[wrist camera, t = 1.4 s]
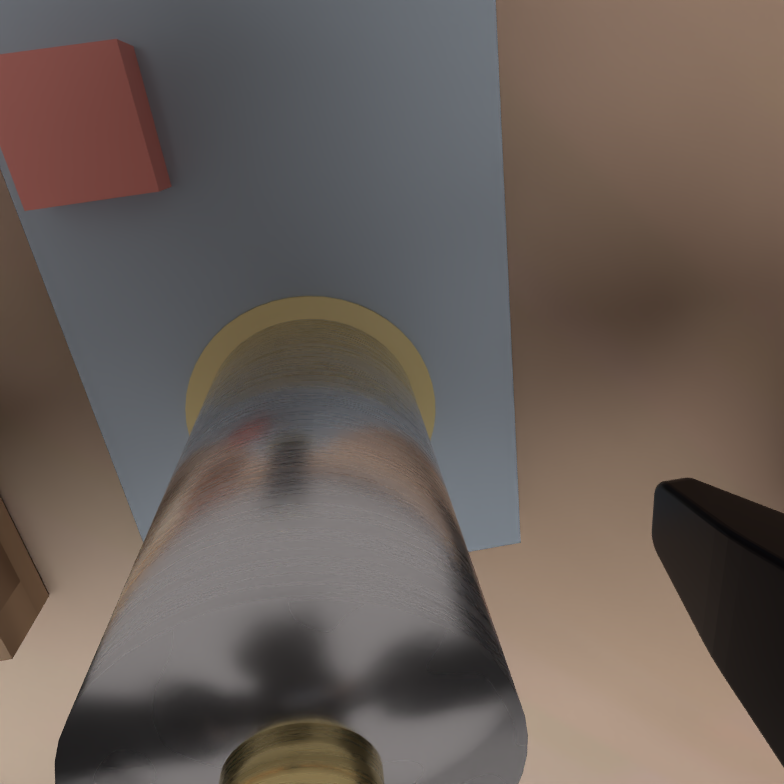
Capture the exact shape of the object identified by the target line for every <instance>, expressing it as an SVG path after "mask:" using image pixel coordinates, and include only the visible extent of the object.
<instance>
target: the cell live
mask: <svg viewBox="0 0 784 784" xmlns="http://www.w3.org/2000/svg"><path fill="white" fill-rule="evenodd" d="M527 742H528V734H527V727H526V720H525V715H524V712H523V709H522V706H521V703H520V700H519V698H518V695H517V692H516V689H515V686H514V683H513V680H512V677H511V674H510V671H509V668H508V666H507V663H506V660H505V657H504V654H503V651H502V648H501V645H500V642H499V639H498V636H497V634H496V631H495V628H494V625H493V622H492V619H491V616H490V613H489V610H488V607H487V605H486V602H485V599H484V596H483V593H482V590H481V587H480V584H479V581H478V578H477V575H476V573H475V570H474V567H473V564H472V561H471V558H470V555H469V552H468V549H467V546H466V543H465V541H464V538H463V535H462V532H461V529H460V526H459V523H458V520H457V517H456V514H455V512H454V509H453V506H452V503H451V500H450V497H449V494H448V491H447V488H446V485H445V482H444V480H443V477H442V474H441V471H440V468H439V465H438V462H437V459H436V456H435V453H434V450H433V448H432V445H431V442H430V439H429V436H428V433H427V430H426V427H425V424H424V421H423V419H422V416H421V413H420V410H419V407H418V404H417V401H416V398H415V395H414V392H413V389H412V387H411V384H410V381H409V378H408V376H407V374H406V372H405V371H404V369H403V367H402V365H401V364H400V363H399V361H398V360H397V358H396V357H395V356H394V355H393V354H392V353H391V352H390V351H389V350H388V349H387V347H385V346H384V345H383V344H382V343H380V342H379V341H378V340H377V339H375V338H374V337H372V336H370V335H369V334H367V333H365V332H364V331H362V330H359V329H357V328H355V327H352V326H350V325H347V324H343V323H340V322H336V321H330V320H324V319H301V320H292V321H287V322H283V323H279V324H276V325H273V326H270V327H267V328H265V329H263V330H261V331H259V332H257V333H255V334H253V335H252V336H250V337H249V338H247V339H246V340H245V341H243V342H242V343H241V344H239V345H238V346H237V347H236V348H235V349H234V350H233V351H232V352H231V353H230V354H229V356H228V357H227V358H226V359H225V360H224V362H223V363H222V365H221V366H220V368H219V370H218V371H217V373H216V375H215V378H214V380H213V382H212V385H211V387H210V389H209V392H208V394H207V396H206V398H205V401H204V403H203V405H202V408H201V410H200V412H199V415H198V417H197V419H196V422H195V424H194V426H193V429H192V431H191V433H190V436H189V438H188V440H187V443H186V445H185V447H184V450H183V452H182V454H181V456H180V459H179V461H178V463H177V466H176V468H175V470H174V473H173V475H172V477H171V480H170V482H169V484H168V487H167V489H166V491H165V494H164V496H163V498H162V501H161V503H160V505H159V508H158V510H157V512H156V514H155V517H154V519H153V521H152V524H151V526H150V528H149V531H148V533H147V535H146V538H145V540H144V542H143V545H142V547H141V549H140V552H139V554H138V556H137V559H136V561H135V563H134V566H133V568H132V570H131V572H130V575H129V577H128V579H127V582H126V584H125V586H124V589H123V591H122V593H121V596H120V598H119V600H118V603H117V605H116V607H115V610H114V612H113V614H112V617H111V619H110V621H109V624H108V626H107V628H106V631H105V633H104V635H103V637H102V640H101V642H100V644H99V647H98V649H97V651H96V654H95V656H94V658H93V661H92V663H91V665H90V668H89V670H88V672H87V675H86V677H85V679H84V682H83V684H82V686H81V689H80V691H79V693H78V695H77V698H76V700H75V702H74V705H73V707H72V709H71V712H70V714H69V716H68V719H67V721H66V724H65V726H64V729H63V731H62V734H61V736H60V739H59V742H58V747H57V753H56V758H55V784H518V783H519V781H520V778H521V776H522V773H523V769H524V765H525V761H526V756H527Z"/></svg>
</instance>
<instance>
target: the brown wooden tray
mask: <svg viewBox="0 0 784 784" xmlns="http://www.w3.org/2000/svg"><path fill="white" fill-rule="evenodd" d="M48 597H49V595H48V593H47V591H46V589H45V587H44V585H43V583H42V581H41V579H40V577H39V575H38V573H37V571H36V569H35V567H34V565H33V563H32V560H31V558H30V556H29V554H28V552H27V550H26V548H25V546H24V544H23V542H22V540H21V538H20V536H19V534H18V532H17V530H16V528H15V526H14V524H13V522H12V520H11V518H10V516H9V514H8V512H7V510H6V507H5V505H4V503H3V501H2V499H1V497H0V661H3V660H9V659H13V657H14V655H15V653H16V652H17V650H18V648H19V647H20V645H21V643H22V641H23V640H24V638H25V636H26V635H27V633H28V631H29V629H30V628H31V626H32V624H33V623H34V621H35V619H36V617H37V616H38V614H39V612H40V611H41V609H42V607H43V605H44V604H45V602H46V600H47V599H48Z"/></svg>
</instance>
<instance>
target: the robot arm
mask: <svg viewBox="0 0 784 784" xmlns="http://www.w3.org/2000/svg"><path fill="white" fill-rule="evenodd" d="M652 540H653V544H654V547H655V550H656V552H657V554H658V556H659V558H660V560H661V562H662V564H663V566H664V568H665V570H666V572H667V573H668V575H669V577H670V579H671V581H672V583H673V585H674V587H675V589H676V591H677V593H678V595H679V597H680V598H681V600H682V602H683V604H684V606H685V608H686V610H687V612H688V614H689V616H690V618H691V620H692V621H693V623H694V625H695V627H696V629H697V631H698V633H699V635H700V637H701V639H702V641H703V642H704V644H705V646H706V648H707V650H708V651H709V653H710V655H711V657H712V658H713V660H714V662H715V663H716V665H717V666H718V668H719V670H720V671H721V673H722V674H723V676H724V677H725V679H726V681H727V682H728V684H729V685H730V687H731V688H732V690H733V691H734V693H735V694H736V696H737V697H738V699H739V700H740V702H741V703H742V705H743V706H744V708H745V709H746V711H747V712H748V714H749V715H750V717H751V718H752V720H753V722H754V723H755V725H756V726H757V728H758V729H759V731H760V732H761V734H762V735H763V737H764V738H765V740H766V741H767V743H768V744H769V746H770V747H771V749H772V750H773V752H774V753H775V755H776V756H777V758H778V759H779V761H780V762H781V764H782V766H783V767H784V513H781V512H779V511H776V510H773V509H771V508H768V507H766V506H763V505H760V504H758V503H755V502H753V501H750V500H747V499H745V498H742V497H740V496H737V495H734V494H732V493H729V492H727V491H724V490H721V489H719V488H716V487H714V486H711V485H709V484H706V483H703V482H701V481H698V480H696V479H693V478H681V479H675V480H669V481H663V482H661V483H659V484H658V485H657V487H656V489H655V493H654V507H653V521H652Z"/></svg>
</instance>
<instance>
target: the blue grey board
mask: <svg viewBox="0 0 784 784" xmlns="http://www.w3.org/2000/svg"><path fill="white" fill-rule="evenodd" d="M0 169H1V172H2V174H3V177H4V180H5V182H6V185H7V188H8V190H9V193H10V195H11V198H12V201H13V203H14V206H15V208H16V211H17V214H18V216H19V219H20V221H21V224H22V227H23V229H24V232H25V235H26V237H27V240H28V242H29V245H30V248H31V250H32V253H33V255H34V258H35V261H36V263H37V266H38V268H39V271H40V274H41V276H42V279H43V282H44V284H45V287H46V289H47V292H48V295H49V297H50V300H51V302H52V305H53V308H54V310H55V313H56V315H57V318H58V321H59V323H60V326H61V329H62V331H63V334H64V336H65V339H66V342H67V344H68V347H69V349H70V352H71V355H72V357H73V360H74V362H75V365H76V368H77V370H78V373H79V376H80V378H81V381H82V383H83V386H84V389H85V391H86V394H87V396H88V399H89V402H90V404H91V407H92V410H93V412H94V415H95V417H96V420H97V423H98V425H99V428H100V430H101V433H102V436H103V438H104V441H105V443H106V446H107V449H108V451H109V454H110V457H111V459H112V462H113V464H114V467H115V470H116V472H117V475H118V477H119V480H120V483H121V485H122V488H123V490H124V493H125V496H126V498H127V501H128V504H129V506H130V509H131V511H132V514H133V517H134V519H135V522H136V524H137V527H138V530H139V532H140V535H141V537H142V540H143V542H144V540H145V538H146V535H147V533H148V531H149V528H150V526H151V524H152V521H153V519H154V517H155V514H156V512H157V510H158V508H159V505H160V503H161V501H162V498H163V496H164V494H165V491H166V489H167V487H168V484H169V482H170V480H171V477H172V475H173V473H174V470H175V468H176V466H177V463H178V461H179V459H180V456H181V454H182V452H183V450H184V447H185V445H186V443H187V440H188V438H189V436H190V433H191V431H192V429H193V426H194V424H195V422H196V419H197V417H198V415H199V412H200V410H201V408H202V405H203V403H204V401H205V398H206V396H207V394H208V392H209V389H210V387H211V385H212V382H213V380H214V378H215V375H216V373H217V371H218V370H219V368H220V366H221V365H222V363H223V362H224V360H225V359H226V358H227V357H228V356H229V354H230V353H231V352H232V351H233V350H234V349H235V348H236V347H237V346H238V345H239V344H241V343H242V342H243V341H245V340H246V339H247V338H249V337H250V336H252V335H253V334H255V333H257V332H259V331H261V330H263V329H265V328H267V327H270V326H273V325H276V324H279V323H283V322H287V321H292V320H301V319H324V320H330V321H336V322H340V323H343V324H347V325H350V326H352V327H355V328H357V329H359V330H362V331H364V332H365V333H367V334H369V335H370V336H372V337H374V338H375V339H377V340H378V341H379V342H380V343H382V344H383V345H384V346H385V347H387V349H388V350H389V351H390V352H391V353H392V354H393V355H394V356H395V357H396V358H397V360H398V361H399V363H400V364H401V365H402V367H403V369H404V371H405V372H406V374H407V376H408V378H409V381H410V384H411V387H412V389H413V392H414V395H415V398H416V401H417V404H418V407H419V410H420V413H421V416H422V419H423V421H424V424H425V427H426V430H427V433H428V436H429V439H430V442H431V445H432V448H433V450H434V453H435V456H436V459H437V462H438V465H439V468H440V471H441V474H442V477H443V480H444V482H445V485H446V488H447V491H448V494H449V497H450V500H451V503H452V506H453V509H454V512H455V514H456V517H457V520H458V523H459V526H460V529H461V532H462V535H463V538H464V541H465V543H466V546H467V549H468V552H470V551H476V550H481V549H487V548H493V547H498V546H504V545H510V544H515V543H521V541H520V520H519V498H518V476H517V454H516V433H515V411H514V389H513V368H512V346H511V324H510V302H509V281H508V259H507V237H506V215H505V194H504V172H503V150H502V128H501V107H500V85H499V63H498V42H497V20H496V0H0Z"/></svg>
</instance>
